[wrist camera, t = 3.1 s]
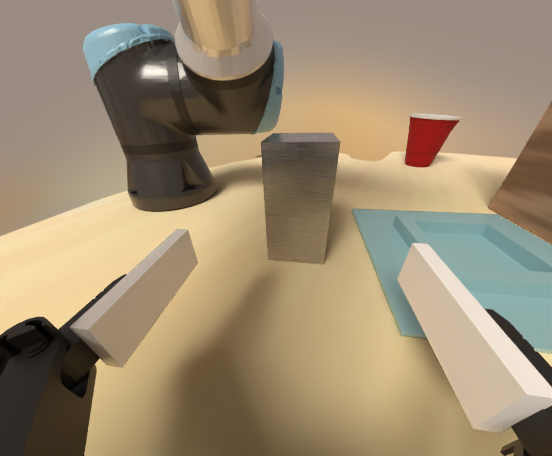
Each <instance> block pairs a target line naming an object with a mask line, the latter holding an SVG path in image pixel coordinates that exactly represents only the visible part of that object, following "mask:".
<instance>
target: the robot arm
mask: <svg viewBox="0 0 552 456" xmlns="http://www.w3.org/2000/svg"><path fill="white" fill-rule="evenodd" d="M172 2H173V5H174V8H175V10H176V13H177V16H178V18H179V21H180V22H179V25H178V27H177V30H176V33H175V39H174V38H173V36H172V34H171V33H170V32H169V31H167V30H165V29H164V28H161V27H158V26H154V25H149V24H144V25H137V24H136V23H126V24H125V23H124V24H115V25H109V26H105V27H102V28H99V29H96V30H94V31H92V32H91V33H90V34H88V35H87V37H86V38H85V41H84V46H83V51H84V55H85V57H86V60H87V63H88V66H89V69H90V72H91V78H92V81H93V83H94V85H95V86H96V87H97V90H98V92H99V94H100V97H101V99H102V102H103V104H104V106H105V109H106V111H107V114H108V116H109V118H110V121H111V123H112V126H113V128H114V130H115V133H116V135H117V137H118V140H119V142H120V144H121V147H122V149H123V152H124V154H125V157H126V160H127V180H128V194H129V197H130V199H131V201H132V203H133V205H134V207H136V208H138V209H141V210H147V211H165V210H173V209H179V208H184V207H188V206H191V205H194V204H197V203H200V202H202V201H204V200H206V199H208V198H210V197H211V196H213V195H214V194H215V192H216V185H215V180H214V177H213V176H212V174H211V172H210V170H209V168H208V167H207V165H206V163H205V161H204V159H203V157H202V156H201V154H200V152H199V149H198V144H197V140H196V135H217V134H218V135H222V134H256V133H261V132H269V131H271V130H273V129H274V127H275V126H276V124H277V122H278V118H279V114H280V109H281V102H282V88H283V79H284V58H283V49H282V45H281V44H280V42H278V41H275V40H273V35H272V30H271V26H270V24H269V22H268V21H267V19H266V17H264V15H263V14H262V13H261V12H260V11H259V7H258V0H172ZM197 264H198V261H197V258H196V254H195V251H194V248H193V245H192V241H191V238H190V235H189V232H188V230H184V229H176V230H175V231H174V232H173V233H172V234H171V235H170V236H169V237H168V238H166V239H165V240H164V241H163V242H162V243H161V244H160V245H159V246H158V247H157V248H156V249H154V250H153V251H152V252H151V253H150V254H149V255H148V256H147V257H146V258H145V259H144V260H142V261H141V262H140V263H139V264H138V265H137V266H136V267H135V268H134V269H133V270H131V271H130V272H129V273H128V274H125V275H123V276H121V277H120V278H118V279H116V280H115V281H113V282H112V283H111V284H110V285H108V286H107V287H106V288H105V289H104V291H103V292H101V293H99V294H98V295H97V296H96V298H95V299H93V300H91V301H90V302H89V303H88V304H87V305H86V306H85V307H84V308H82V309H81V310H80V311H79V312H78V313H77V314H76V315H75V316H73V317H72V318H71V319H70V320H69V321H68V322H67V323H65V324H64V325H63V326H62V327H61V328H60V329H57V328H56V327H54V326H53V325H52V324H51V323H50V322H49V321H48V320H47V319H46V318H44V317H35V318H31V319H27V320H25V321H23V322H20V323H18V324H16V325H15V326H13V327H11V328H10V329H8V330H6V331H5V332H4V333H3V334H1V335H0V456H84V452H85V445H86V439H87V432H88V425H89V418H90V412H91V405H92V398H93V392H94V385H95V378H96V371H97V370H96V366H95V365H94V364H95V363H96V362H97V361H98V360H99V358H100V359H101V360H102V361H103V362H104V363H105V364H106V365H109V366H115V367H120V368H123V366H124V365H125V364H126V362H127V361H128V359H129V358H130V357H131V355H132V354H133V352H134V351H135V350H136V348H137V347H138V346H139V344H140V343H141V341H142V340H143V339H144V337H145V336H146V334H147V333H148V332H149V330H150V329H151V327H152V326H153V325H154V323H155V322H156V321H157V319H158V318H159V316H160V315H161V314H162V312H163V311H164V309H165V308H166V307H167V305H168V304H169V302H170V301H171V300H172V298H173V297H174V296H175V294H176V293H177V291H178V290H179V289H180V287H181V286H182V284H183V283H184V282H185V280H186V279H187V277H188V276H189V275H190V273H191V272H192V270H193V269H194V268H195V266H196V265H197ZM397 280H398V282H399V284H400V286H401V288H402V290H403V292H404V294H405V296H406V298H407V299H408V301H409V303H410V305H411V307H412V309H413V311H414V313H415V315H416V317H417V319H418V321H419V323H420V325H421V327H422V329H423V331H424V333H425V335H426V337H427V339H428V341H429V343H430V345H431V347H432V349H433V351H434V353H435V355H436V357H437V359H438V361H439V363H440V364H441V366H442V368H443V370H444V372H445V374H446V376H447V378H448V380H449V382H450V384H451V386H452V388H453V390H454V392H455V394H456V396H457V398H458V400H459V402H460V404H461V406H462V408H463V410H464V412H465V414H466V416H467V418H468V420H469V422H470V424H471V426H472V427H473V429H478V430H484V431H489V432H495V433H501V432H503V431H505V430H507V429H509V428H511V427H512V429H513V430H514V432H515V434H516V435H517V437H518V438H519V439H518V440H516V441H514V442H512V443H510V444H508V445H505V446H503V447H502V449H501V451H500V453H502V454H503V455H504V456H506V455H509V454H511V453H513V452H514V456H552V367H551V366H550V365H549V364H548V363H547V362H546V360H545V359H544V358H543V357H542V356H541V355H540V354H539V353H538V352H536V351H535V350H534V348H533V346H532V345H531V344H530V343H529V342H528V341H527V340H526V339H523V336H522V335H521V334H520V333H519V331H518V330H517V329H516V328H515V327H514V326H513V325H512V324H511V323H510V322H509V321H508V320H506V319H505V318H504V317H502V316H501V315H500V314H498V313H497V312H495V311H494V310H493V309H484V308H483V307H482V306H481V305H480V304H479V302H478V301H477V300H476V299H475V298H474V297H473V295H472V294H471V293H470V292H469V291H468V290H467V289H466V287H465V286H464V285H463V284H462V283H461V282H460V280H459V279H458V278H457V277H456V276H455V275H454V274H453V272H452V271H451V270H450V269H449V268H448V267H447V265H446V264H445V263H444V262H443V261H442V260H441V258H440V257H439V256H438V255H437V254H436V253H435V252H434V250H433V249H432V248H431V247H430V246H429V245H428V244H422V243H412V245H411V248H410V250H409V252H408V255H407V257H406V260H405V262H404V264H403V267H402V269H401V272H400V274H399V276H398V279H397Z"/></svg>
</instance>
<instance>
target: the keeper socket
mask: <svg viewBox="0 0 552 456" xmlns="http://www.w3.org/2000/svg"><path fill="white" fill-rule="evenodd" d="M352 214H353V216H354V219H355V221H356V224H357V226H358V229H359V231H360V234H361V236H362V239H363V241H364V244H365V246H366V249H367V251H368V254H369V256H370V259H371V261H372V264H373V266H374V269H375V271H376V274H377V276H378V279H379V281H380V284H381V286H382V289H383V291H384V294H385V296H386V299H387V301H388V304H389V306H390V309H391V312H392V314H393V317H394V319H395V322H396V324H397V327H398V329H399V332H400V334H401V335H402V336H410V337H419V338H427V337H426V335H425V333H424V331H423V329H422V327H421V325H420V323H419V321H418V319H417V317H416V315H415V313H414V311H413V309H412V307H411V305H410V303H409V301H408V299H407V298H406V296H405V294H404V292H403V290H402V288H401V286H400V284H399V282H398V280H397V279H398V276H399V274H400V272H401V269H402V267H403V264H404V262H405V260H406V257H407V255H408V252H409V250H410V248H411V245H412V243H422V244H428V245H429V246H430V247H431V248H432V249H433V250H434V252H435V253H436V254H437V255H438V256H439V257H440V258H441V260H442V261H443V262H444V263H445V264H446V265H447V267H448V268H449V269H450V270H451V271H452V272H453V274H454V275H455V276H456V277H457V278H458V279H459V280H460V282H461V283H462V284H463V285H464V286H465V287H466V289H467V290H468V291H469V292H470V293H471V294H472V295H473V297H474V298H475V299H476V300H477V301H478V302H479V304H480V305H481V306H482V307H483V308H484V309H493V310H494V311H495V312H497V313H498V314H500V315H501V316H502V317H504V318H505V319H506V320H508V321H509V322H510V323H511V324H512V325H513V326H514V327H515V328H516V329H517V330H518V331H519V333H520V334H521V335H522V336H523V339H526V340H527V341H528V342H529V343H530V344H531V345H532V346H533V348H534V350H535V351H536V352H543V353H552V245H551V244H549V243H547V242H545V241H544V240H542V239H540V238H538V237H537V236H535V235H533V234H531V233H530V232H528V231H526V230H524V229H523V228H521V227H519V226H517V225H516V224H514V223H512V222H510V221H509V220H507V219H505V218H503V217H502V216H500V215H498V214H476V213H450V212H424V211H398V210H372V209H352Z"/></svg>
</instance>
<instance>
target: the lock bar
mask: <svg viewBox="0 0 552 456" xmlns="http://www.w3.org/2000/svg"><path fill="white" fill-rule="evenodd" d="M339 147H340V141H339V140H338V139H337V138H336V136H335V135H334V134H333V133H276V134H275V133H273V134H272V135H270V136H269V137H267V138H266V139H265V140H263V141H262V142H261V152H262V168H263V184H264V200H265V216H266V232H267V248H268V260H276V261H289V262H302V263H314V264H324V259H325V252H326V245H327V237H328V230H329V222H330V215H331V207H332V200H333V192H334V185H335V177H336V170H337V163H338V155H339Z"/></svg>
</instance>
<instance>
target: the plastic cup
mask: <svg viewBox="0 0 552 456" xmlns="http://www.w3.org/2000/svg"><path fill="white" fill-rule="evenodd" d="M462 119H463V118H462V117H456V116H446V115H433V114H410V126H409V135H408V142H407V149H406V158H405V164H406V165H409V166H415V167H428V166H430V164H431V163H432V162H433V160H434V158H435V156H436V154H437V153H438V152H439V150H440V148H441V147H442V145H443V143H444V142H445V140H446V139H447V137H448V135H449V133H450V132H451V131H452V130H453V128H454V126H455V125H456V124H457V123H458V122H459V121H460V120H462Z"/></svg>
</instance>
